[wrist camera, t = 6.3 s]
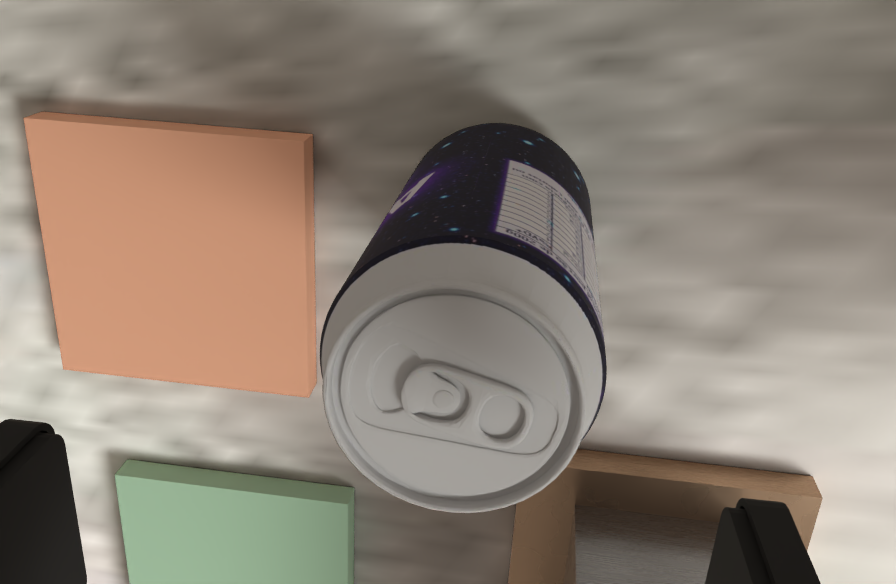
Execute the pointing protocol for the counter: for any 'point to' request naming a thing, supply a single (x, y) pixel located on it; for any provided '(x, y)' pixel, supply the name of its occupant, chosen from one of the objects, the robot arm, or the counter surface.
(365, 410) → the beverage can
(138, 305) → the terracotta mat
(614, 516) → the mounted unit
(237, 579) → the sage mat
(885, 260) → the counter surface
